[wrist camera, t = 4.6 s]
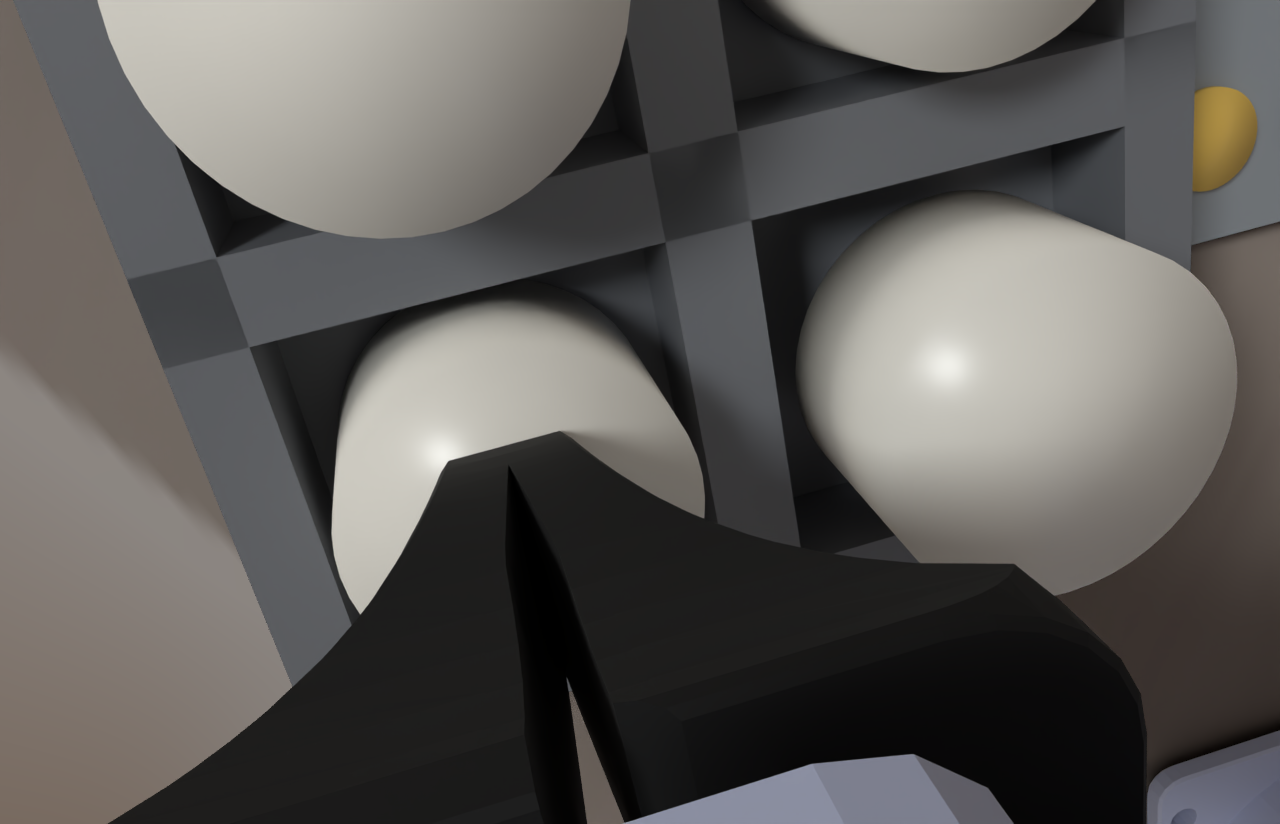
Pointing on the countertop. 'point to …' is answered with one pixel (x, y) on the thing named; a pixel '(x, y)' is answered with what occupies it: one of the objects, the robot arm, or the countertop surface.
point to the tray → (619, 249)
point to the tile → (1236, 117)
